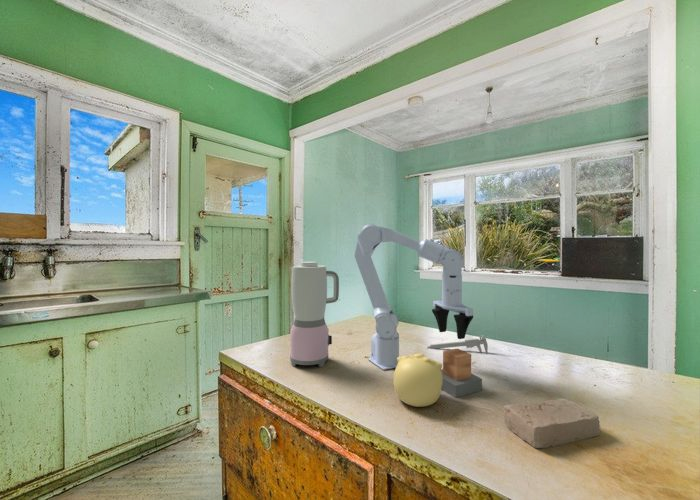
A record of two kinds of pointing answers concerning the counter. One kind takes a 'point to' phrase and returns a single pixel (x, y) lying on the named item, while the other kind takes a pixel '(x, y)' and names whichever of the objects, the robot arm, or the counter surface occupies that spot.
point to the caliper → (463, 344)
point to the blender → (310, 313)
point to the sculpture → (418, 380)
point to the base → (461, 385)
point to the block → (457, 364)
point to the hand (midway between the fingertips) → (451, 335)
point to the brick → (551, 422)
